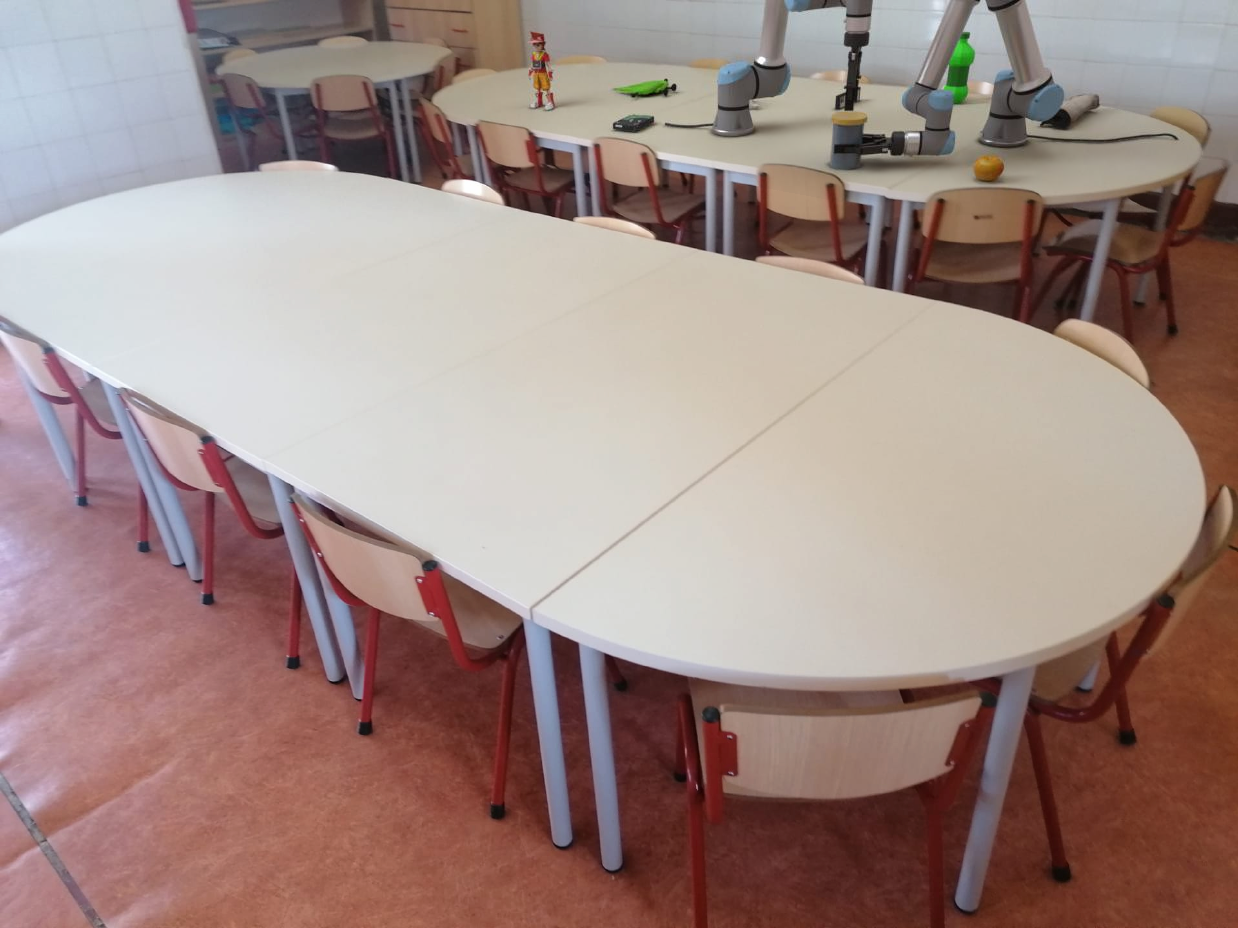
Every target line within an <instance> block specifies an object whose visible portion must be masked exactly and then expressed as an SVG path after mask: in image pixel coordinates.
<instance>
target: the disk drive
mask: <svg viewBox="0 0 1238 928" xmlns="http://www.w3.org/2000/svg"><path fill="white" fill-rule="evenodd" d="M654 123H655V116H654V115H647V114H646V115H645V114H629V115H627V116H625V117H623V118H621V119H618V120H617V121H614V122H612V130H616V131H623V132H633V133H635V132H637V131H640V130H643V129H645V128H646V127H649V126H650V125H651V126H652V125H653V124H654Z"/></svg>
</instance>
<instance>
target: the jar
mask: <svg viewBox="0 0 1238 928" xmlns="http://www.w3.org/2000/svg"><path fill="white" fill-rule="evenodd" d="M863 133H864V134H865V123H864V124H860V125H850V126H848V125H838V124H834V123H832V133H831V145H830V147H831V148H830V157H829V166H830V167H831V168H834V169H837V170H853V169H854V170H855V169H857V168H859V167H861V164H862V163H861V161H862V155H860V156H858V155H857V154H855V153H836V154H834V144H855V147H856V143H858V144H859V145H861V144H862V143H863Z"/></svg>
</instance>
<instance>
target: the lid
mask: <svg viewBox="0 0 1238 928" xmlns="http://www.w3.org/2000/svg"><path fill="white" fill-rule="evenodd" d="M830 121H831V123H832V124H833V123H834V124H838V125H848V126H850V125H860V124H864V125H865V124H866V123H867V122H868V114H867V113H865V112H862V111H854V110H853V111H837V112H835V113H832V114H831V117H830Z"/></svg>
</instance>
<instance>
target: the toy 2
mask: <svg viewBox="0 0 1238 928" xmlns="http://www.w3.org/2000/svg"><path fill="white" fill-rule="evenodd" d="M669 85H670V83H669V79H668V78H664V79H663V80H649V81H644V82H640V83H634V84H629V85H627V86H621V87H613V88H612V89H613V90H616V91H619V92H623V93H627V94H628V93H629V94H631V95H630V96H631V98H632V99H634V98H636V96H637V95H650V94H652V93H654V94H658V93H662V95H663V96H665V97H667V96H668V95H669V90H671V91H672V92H676V91H677V84H676V83H672V84H671V86H669Z"/></svg>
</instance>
